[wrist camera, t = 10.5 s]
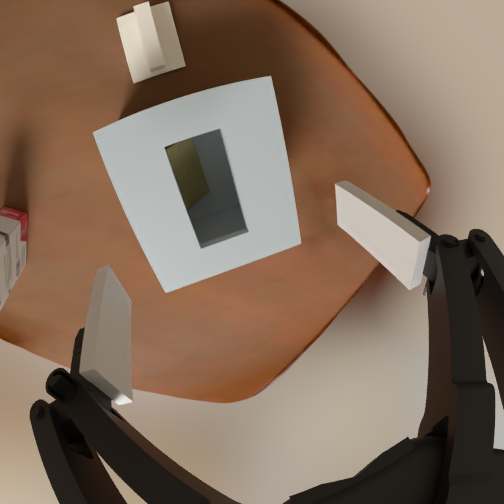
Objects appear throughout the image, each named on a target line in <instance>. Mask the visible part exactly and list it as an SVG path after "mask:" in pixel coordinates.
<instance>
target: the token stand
mask: <svg viewBox="0 0 504 504" xmlns="http://www.w3.org/2000/svg"><path fill="white" fill-rule="evenodd" d="M133 7H134V12H132V13H129V14H127V15H124V16H121V17H119V18H116V19H117V23H118V28H119V32H120V36H121V40H122V43H123V47H124V51H125V55H126V59H127V62H128V66H129V69H130V73H131V76H132V80H133V83H134V84H135V83H138V82H140V81H143V80H146V79H148V78H151V77H154V76H157V75H160V74H163V73H166V72H169V71H172V70H175V69H179V68H182V67H185V66H186V65H185V61H184V58H183V54H182V50H181V46H180V43H179V39H178V35H177V32H176V28H175V24H174V20H173V17H172V13H171V9H170V5H169V1H168V2H165V3H161V4H157V5H154V6H151V7H150V5H149V2H145V3H142V4H139V5H136V6H133Z"/></svg>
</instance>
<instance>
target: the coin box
mask: <svg viewBox="0 0 504 504" xmlns="http://www.w3.org/2000/svg"><path fill="white" fill-rule="evenodd" d="M93 134H94V137H95V140H96V143H97V145H98V148H99V151H100V153H101V156H102V159H103V161H104V164H105V166H106V169H107V171H108V174H109V176H110V179H111V181H112V184H113V186H114V188H115V191H116V193H117V195H118V198H119V200H120V202H121V204H122V207H123V209H124V211H125V213H126V215H127V218H128V220H129V222H130V224H131V226H132V228H133V230H134V233H135V235H136V237H137V239H138V241H139V243H140V245H141V247H142V249H143V251H144V253H145V255H146V257H147V259H148V261H149V263H150V264H151V266H152V268H153V270H154V272H155V274H156V276H157V278H158V280H159V281H160V283H161V285H162V287H163V289H164V291H165V292H166V293H167V292H170V291H173V290H176V289H178V288H181V287H184V286H187V285H190V284H192V283H195V282H198V281H201V280H203V279H206V278H209V277H212V276H214V275H217V274H220V273H223V272H225V271H228V270H231V269H234V268H236V267H239V266H242V265H245V264H247V263H250V262H253V261H256V260H258V259H261V258H264V257H266V256H269V255H272V254H275V253H277V252H280V251H283V250H285V249H288V248H291V247H293V246H296V245H299V244H301V239H300V232H299V225H298V218H297V211H296V205H295V199H294V192H293V186H292V180H291V174H290V169H289V163H288V157H287V152H286V146H285V141H284V136H283V131H282V126H281V121H280V116H279V111H278V106H277V101H276V96H275V92H274V87H273V83H272V78H271V76H267V77H261V78H255V79H250V80H244V81H240V82H235V83H230V84H226V85H222V86H218V87H214V88H210V89H207V90H203V91H199V92H196V93H193V94H189V95H186V96H183V97H180V98H176V99H173V100H170V101H167V102H164V103H162V104H159V105H156V106H153V107H150V108H148V109H145V110H143V111H140V112H137V113H135V114H132V115H130V116H128V117H125V118H123V119H120V120H118V121H116V122H114V123H112V124H109V125H107V126H105V127H103V128H101V129H99V130H97V131H95V132H93ZM191 137H192V138H193V141H194V145H195V148H196V151H197V154H198V157H199V160H200V163H201V166H202V169H203V172H204V175H205V178H206V181H207V184H208V187H209V190H210V192H209V193H208V194H206V195H205V196H204V197H203V198H202V199H201V200H200V201H199V202H197V203H196V204H195V205H194V206H193V207H192V208H191V209H190V210H189V211H187V209H186V207H185V204H184V201H183V198H182V196H181V193H180V190H179V187H178V184H177V181H176V179H175V176H174V173H173V170H172V167H171V164H170V161H169V158H168V155H167V152H166V149H165V146H168V145H171V144H174V143H177V142H179V141H182V140H185V139H188V138H191Z"/></svg>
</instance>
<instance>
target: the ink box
mask: <svg viewBox="0 0 504 504" xmlns="http://www.w3.org/2000/svg"><path fill="white" fill-rule="evenodd" d="M27 224H28V213H26V212H22V211H19V210H16V209H12V208H8V207H4V206H3V207H2V208H1V209H0V311H1V309H2V307H3V305H4V303H5V301H6V299H7V297H8V295H9V293H10V291H11V289H12V288H13V286H14V284H15V282H16V280H17V279H18V277H19V275H20V274H21V272H22V270H23V268H24V267H25V265H26V243H27Z"/></svg>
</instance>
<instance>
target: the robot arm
mask: <svg viewBox="0 0 504 504" xmlns="http://www.w3.org/2000/svg"><path fill="white" fill-rule="evenodd" d="M335 190H336V204H337V222H338V225H339V226H340V227H341V228H342V229H343V230H345V231H346V232H347V233H348V234H349V235H350V236H352V237H353V238H354V239H355V240H356V241H357V242H358V243H360V244H361V245H362V246H363V247H364V248H365V249H366V250H367V251H368V252H370V253H371V254H372V255H373V256H374V257H375V258H376V259H377V260H378V261H379V262H380V263H382V264H383V265H384V266H385V267H386V268H387V269H388V270H389V271H390V272H391V273H392V274H393V275H394V276H395V277H396V278H397V279H398V280H400V281H401V282H402V283H403V284H404V285H405V286H406V287H407V288H408V289H409V290H411V289H412V288H414V287H416V286H417V285H419V284H420V283H421V279H422V275H423V274H424V275H425V276H426V277H427V282H426V285H425V289H424V292H423V295H425V294H426V291H427V300H428V319H429V366H428V367H429V368H428V385H427V398H426V407H425V413H424V416H423V419H422V421H421V423H420V427H419V431H418V437H417V438H413V439H409V438H408V437H407V438H405V439H404V440H402V441H401V442H399V443H398V444H396V445H395V446H393V447H391V448H390V449H389V450H387V451H385V452H383V453H382V454H380V455H379V456H378V457H377V458H376V459H374V460H373V461H372V462H370V463H369V464H368V465H367V466H366V467H365V468H363V469H362V470H361V471H360V472H359V473H357V474H356V475H355V476H354V477H352V478H348V479H344V480H339V481H335V482H330V483H326V484H321V485H318V486H316V487H314V488H311V489H308V490H306V491H304V492H301V493H298V494H295V495H292V496H290V499H289V500H287V501H286V502H284V503H283V504H504V450H501V449H494V448H493V444H494V430H495V390H494V386H493V385H492V384H490V383H488V382H487V380H486V369H485V358H484V357H485V356H484V346H483V339H484V342H485V345H486V348H487V351H488V354H489V357H490V360H491V363H492V367H493V370H494V374H495V377H496V381H497V385H498V389H499V393H500V397H501V401H502V405H503V409H504V256H503V254H502V252H501V251H500V250H499V248H498V247H497V245H496V244H495V243H494V241H493V240H492V239H491V237H490V236H489V235H488V234H487V233H486V232H484V231H483V230H480V229H473V230H471V231H470V232H469V236H468V239H464V240H458V239H457V238H456V237H454V236H451V235H447V234H444V235H440V236H439V235H437V234H436V233H435V232H433V231H432V230H430V229H429V228H427V227H426V226H425V225H423V224H422V223H420V222H419V221H417V220H416V219H414V218H413V217H412V216H410V215H409V214H407V213H404V212H402V211H399V210H397V211H394V210H393V209H391V208H390V207H388V206H387V205H385V204H384V203H382V202H381V201H379V200H377V199H376V198H374V197H373V196H371V195H369V194H368V193H366V192H364V191H363V190H361V189H360V188H358V187H356V186H354V185H353V184H351V183H349V182H348V181H342V182H339V183H336V184H335ZM482 269H483V271H484V276H482V274H481V270H482ZM482 336H483V338H482ZM46 391H47V393H48V394H49V395H51V396H52V397H53V398H55V399H56V400H55V401H53V402H52V403H50V404H48V403H47V402H46V401H44V400H41V399H40V400H37V401H36V402H35V403H34V404H33V405H32V407H31V409H30V421H31V425H32V429H33V433H34V436H35V440H36V443H37V446H38V450H39V453H40V456H41V459H42V462H43V465H44V467H45V470H46V473H47V475H48V478H49V480H50V483H51V485H52V488H53V490H54V492H55V495H56V497H57V499H58V501H59V503H60V504H127V503H126V501H125V500H124V498H123V497H122V495H121V494H120V492H119V490H118V489H117V488H116V486H115V484H114V482H113V481H112V479H111V478H110V476H109V474H108V472H107V471H106V469H105V467H104V465H103V463H102V462H101V460H100V458H99V456H98V454H99V455H100V456H101V457H102V458H103V459H104V461H105V462H106V463H107V464H108V465H109V466H110V467H111V468H112V469H113V471H114V472H115V473H116V474H117V475H118V476H119V477H120V478H121V479H122V480H123V481H124V482H125V483H126V484H127V485H128V486H129V487H130V488H131V489H132V490H133V491H134V492H135V493H137V494H138V495H139V496H140V497H141V498H142V499H143V500H144V501H145V502H147V503H148V504H241V503H238V502H236V501H234V500H232V499H230V498H229V497H227V496H225V495H224V494H222V493H220V492H219V491H217V490H215V489H214V488H212V487H210V486H209V485H207V484H206V483H204V482H202V481H201V480H200V479H198V478H197V477H195V476H194V475H192V474H191V473H189V472H188V471H187V470H185V469H184V468H182V467H181V466H180V465H178V464H177V463H176V462H174V461H173V460H172V459H170V458H169V457H168V456H167V455H165V454H164V453H163V452H162V451H160V450H159V449H158V448H157V447H155V446H154V445H153V444H152V443H151V442H149V441H148V440H147V439H146V438H145V437H144V436H143V435H141V434H140V433H139V432H138V431H137V430H136V429H135V428H134V427H132V426H131V425H130V424H129V423H128V422H127V421H126V420H125V419H124V418H123V417H122V416H121V415H120V414H119V413H118V412H117V411H116V410H115V409H114V408H112V407H111V400H113V401H114V402H115V403H117V404H118V405H121V404H126V403H130V402H133V393H132V374H131V299H130V298H129V296H128V295H127V293H126V291H125V290H124V288H123V287H122V285H121V284H120V282H119V280H118V279H117V277H116V276H115V274H114V272H113V271H112V269H111V267H110V266H109V265H106V266H104V267H101V268H99V269H97V272H96V276H95V280H94V285H93V289H92V294H91V298H90V303H89V308H88V314H87V319H86V325H85V328H82V329H80V330H79V332H78V334H77V336H76V338H75V343H74V349H73V356H72V363H71V371H70V374H69V373H68V372H67V371H66V370H65V369H63V368H58V369H55V370H54V371H53V372H52V373H51V374H50V375H49V377H48V378H47V382H46ZM96 451H97V452H98V454H97V452H96Z"/></svg>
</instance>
